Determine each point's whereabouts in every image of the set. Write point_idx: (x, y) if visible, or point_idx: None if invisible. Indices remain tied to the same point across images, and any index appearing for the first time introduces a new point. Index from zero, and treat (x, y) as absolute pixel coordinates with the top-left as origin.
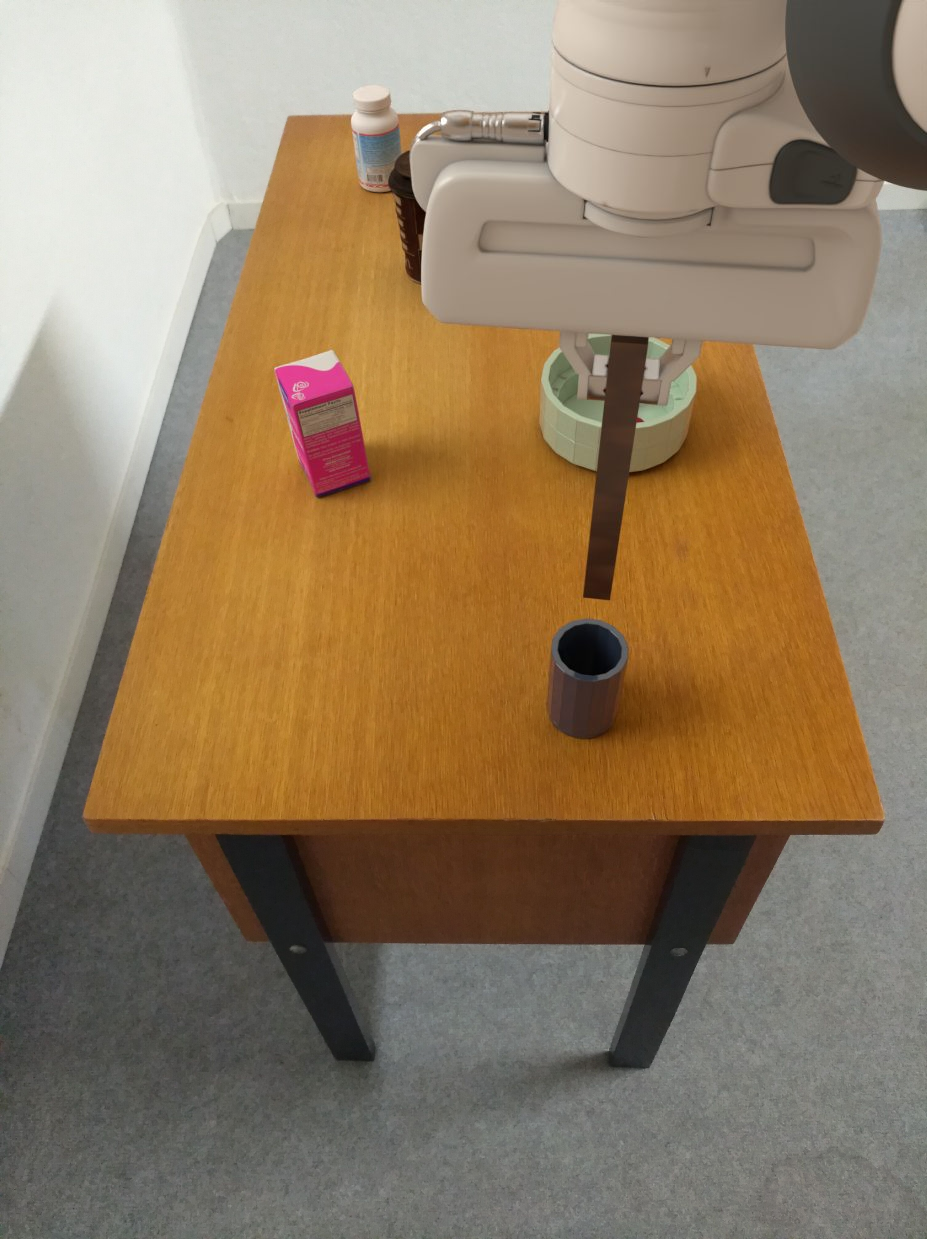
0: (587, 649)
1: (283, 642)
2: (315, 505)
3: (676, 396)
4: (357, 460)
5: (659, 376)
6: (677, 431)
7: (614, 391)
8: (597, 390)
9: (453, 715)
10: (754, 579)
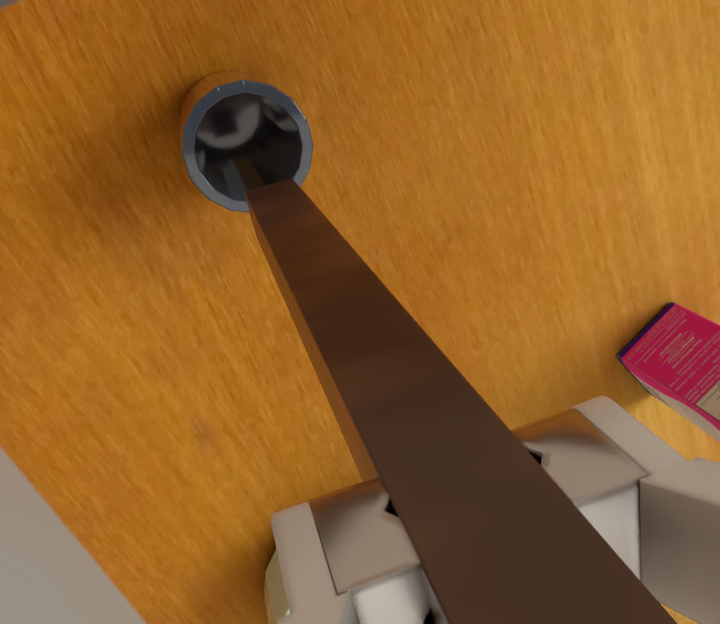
0: (257, 183)
1: (647, 67)
2: (669, 290)
3: None
4: (653, 364)
5: (354, 611)
6: (276, 593)
7: (499, 468)
8: (563, 443)
9: (398, 40)
10: (87, 432)
